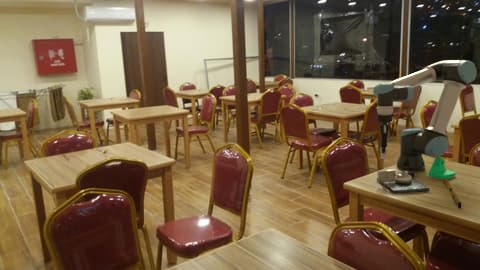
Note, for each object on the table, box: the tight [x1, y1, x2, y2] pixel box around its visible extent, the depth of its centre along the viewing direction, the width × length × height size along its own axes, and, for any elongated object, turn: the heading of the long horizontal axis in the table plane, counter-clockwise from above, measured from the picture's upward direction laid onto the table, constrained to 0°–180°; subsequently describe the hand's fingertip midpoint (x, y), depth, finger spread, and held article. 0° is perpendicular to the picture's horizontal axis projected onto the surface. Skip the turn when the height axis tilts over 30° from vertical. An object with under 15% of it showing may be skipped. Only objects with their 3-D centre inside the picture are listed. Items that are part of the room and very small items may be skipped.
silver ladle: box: [377, 169, 412, 184], centre depth 199 cm, size 17×8×6 cm, turn 93°
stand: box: [376, 171, 431, 195], centre depth 199 cm, size 19×20×5 cm
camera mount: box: [428, 157, 457, 180], centre depth 209 cm, size 12×8×10 cm, turn 116°
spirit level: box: [442, 178, 463, 209], centre depth 185 cm, size 33×1×3 cm, turn 163°
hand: (383, 158), depth 204 cm, fingers closed
